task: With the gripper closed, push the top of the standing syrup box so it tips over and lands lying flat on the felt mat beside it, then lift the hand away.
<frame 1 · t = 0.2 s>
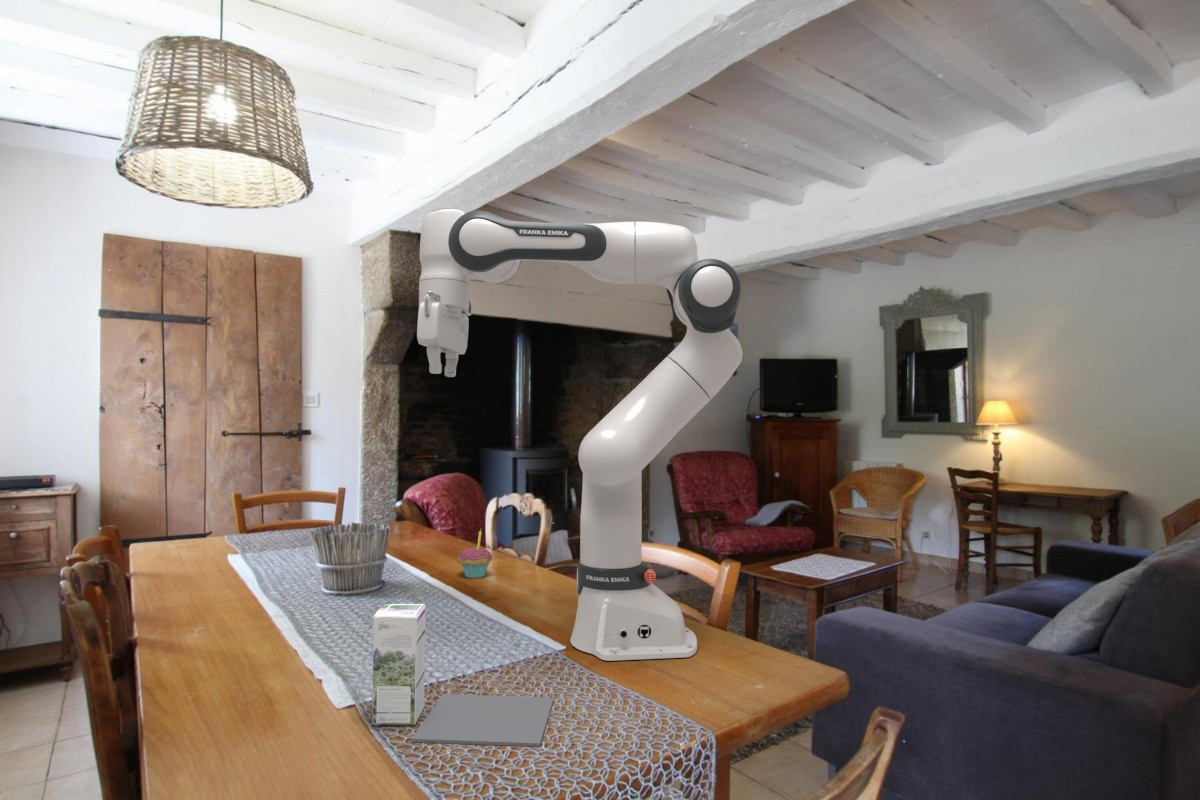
hand: (443, 375, 120), 48 cm above the table, tool pointing down, fingers open, 8 cm apart
cupcake: (474, 576, 164), on the table
syrup box: (398, 718, 88), on the table
felt mat: (487, 719, 87), on the table
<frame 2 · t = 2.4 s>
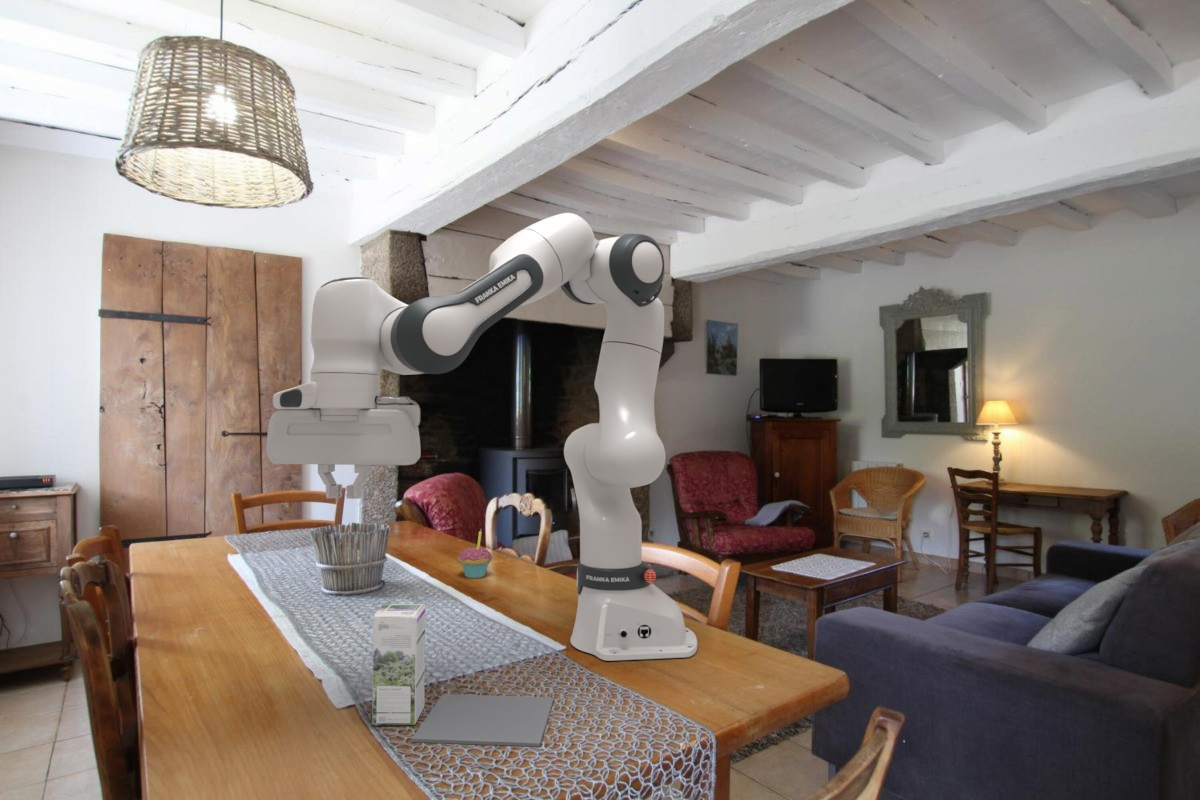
hand: (344, 498, 89), 29 cm above the table, tool pointing down, fingers closed
nothing on the table moved.
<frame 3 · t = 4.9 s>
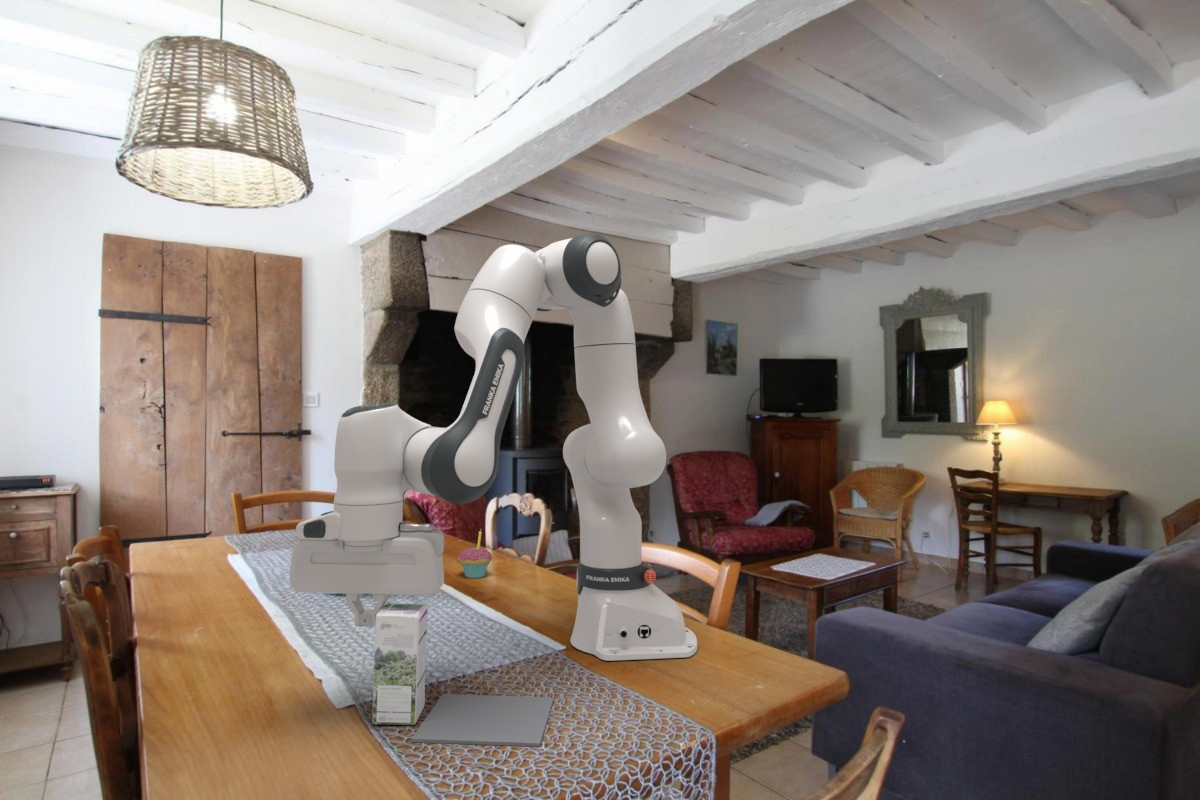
hand: (367, 625, 89), 12 cm above the table, tool pointing down, fingers closed
syrup box: (398, 717, 88), on the table, touching gripper
everything else where it was.
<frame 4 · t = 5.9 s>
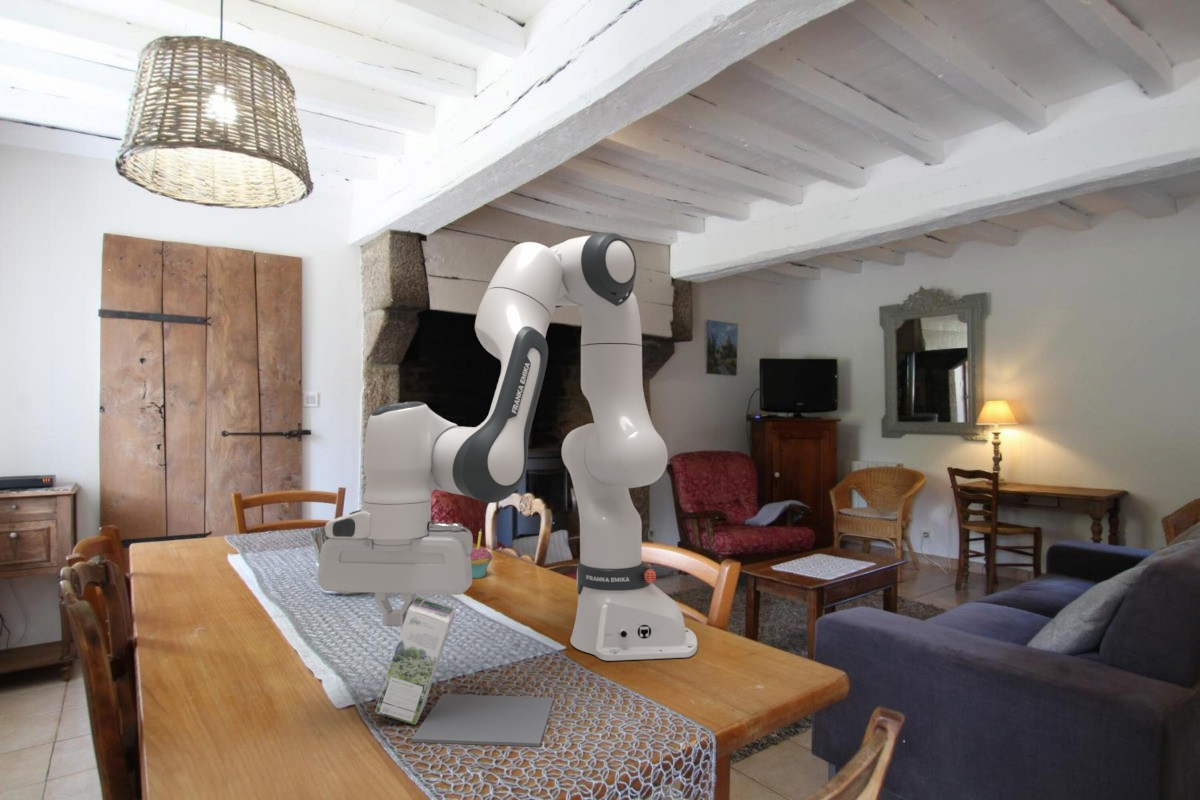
hand: (395, 625, 88), 12 cm above the table, tool pointing down, fingers closed
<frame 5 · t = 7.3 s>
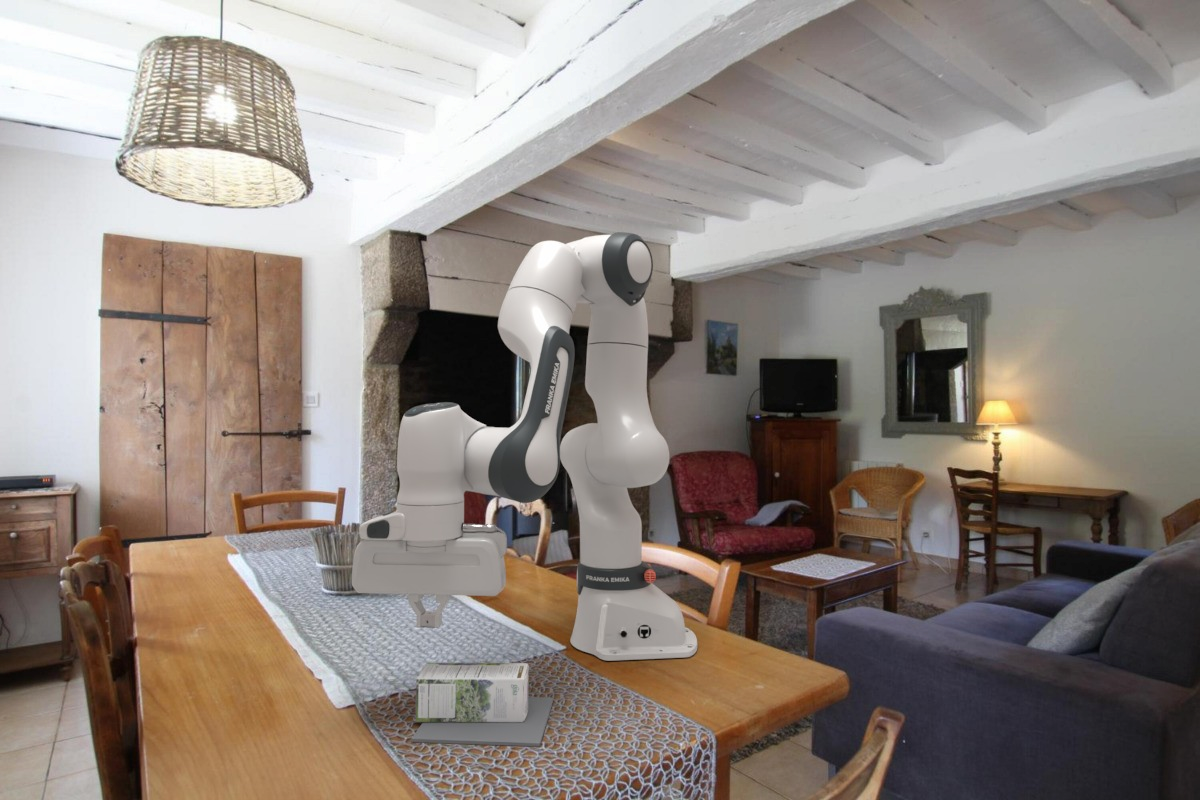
hand: (429, 626, 88), 12 cm above the table, tool pointing down, fingers closed
syrup box: (418, 692, 88), point 3 cm above the table, touching felt mat
everything else where it was.
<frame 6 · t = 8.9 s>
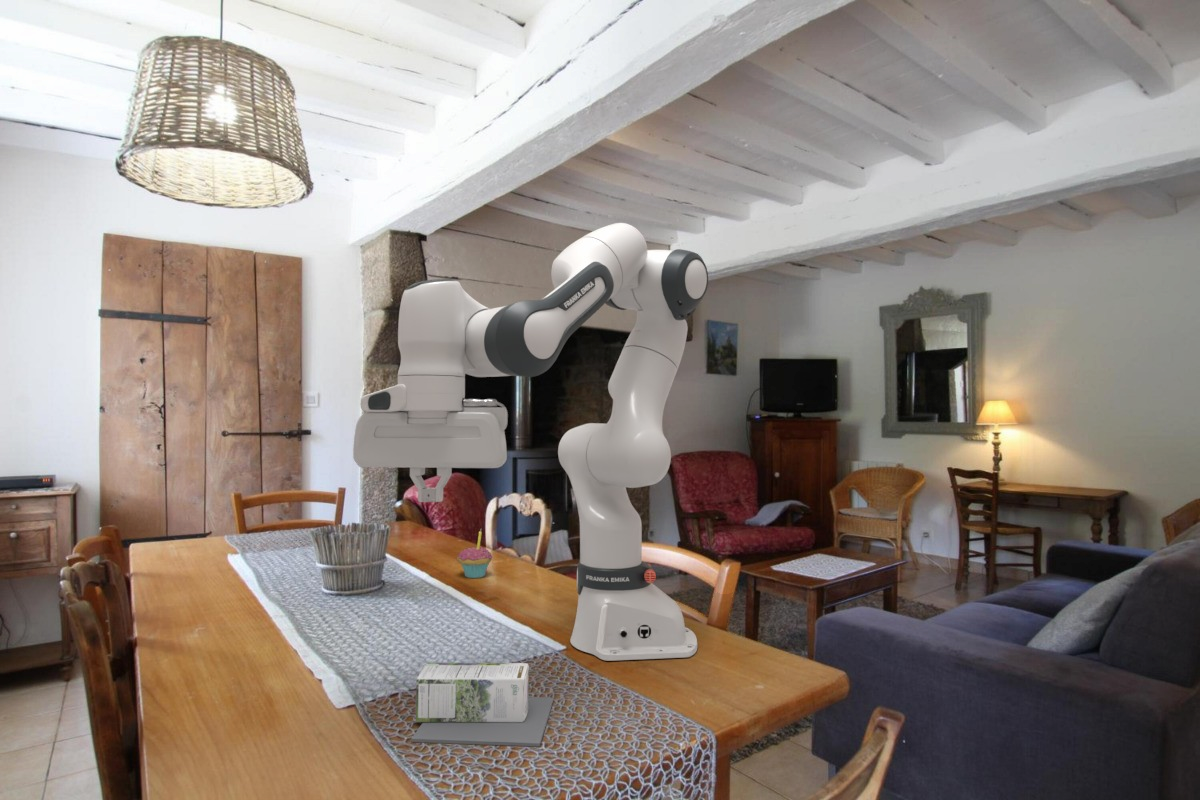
hand: (430, 501, 88), 29 cm above the table, tool pointing down, fingers closed
nothing on the table moved.
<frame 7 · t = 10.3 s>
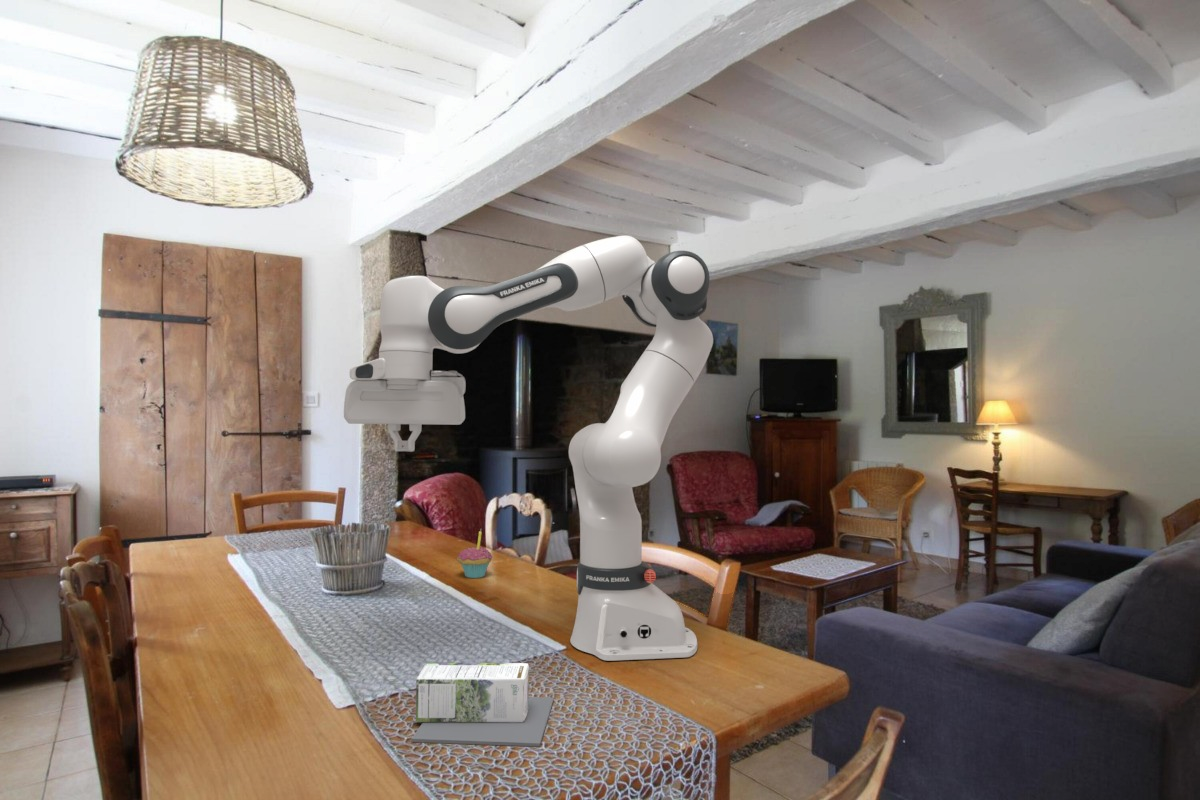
hand: (404, 451, 112), 34 cm above the table, tool pointing down, fingers closed
nothing on the table moved.
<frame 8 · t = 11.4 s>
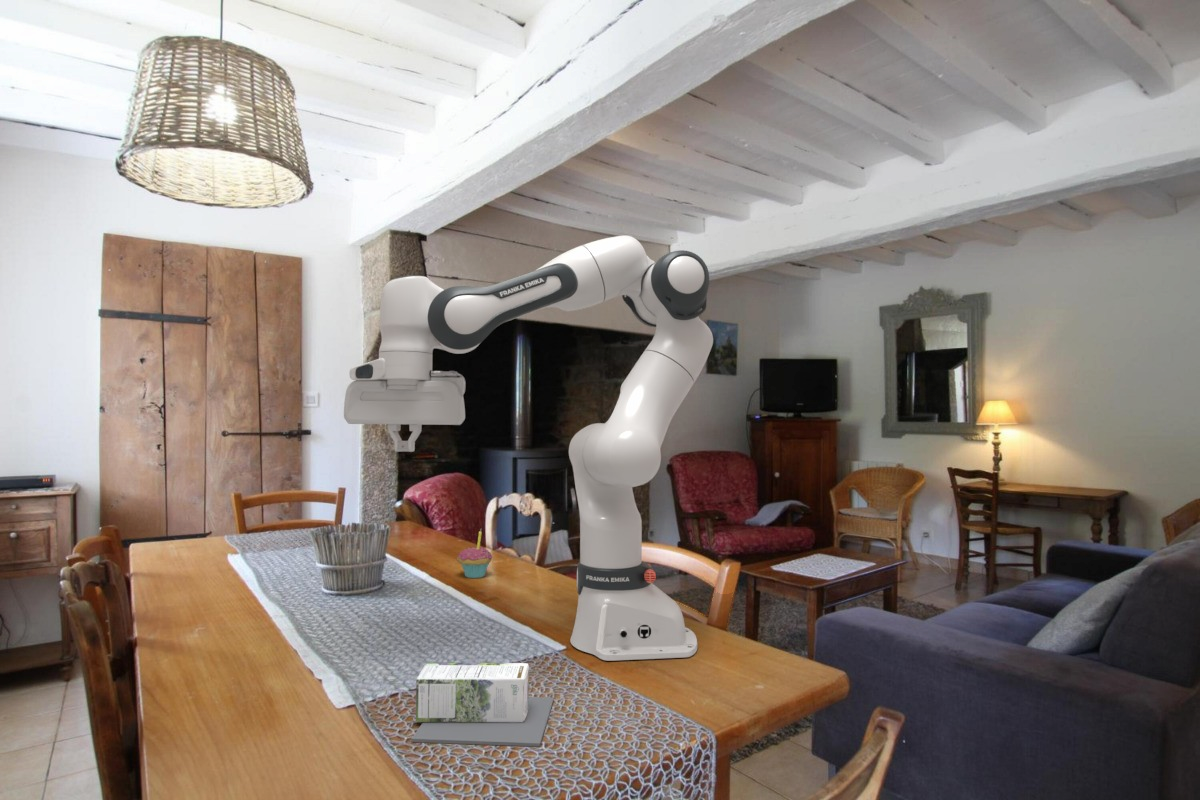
hand: (404, 451, 112), 34 cm above the table, tool pointing down, fingers closed
nothing on the table moved.
at the end: syrup box tilted 90°; syrup box inside the target area (7.0 cm from its centre), point 3.2 cm above the table; the gripper is holding nothing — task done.
